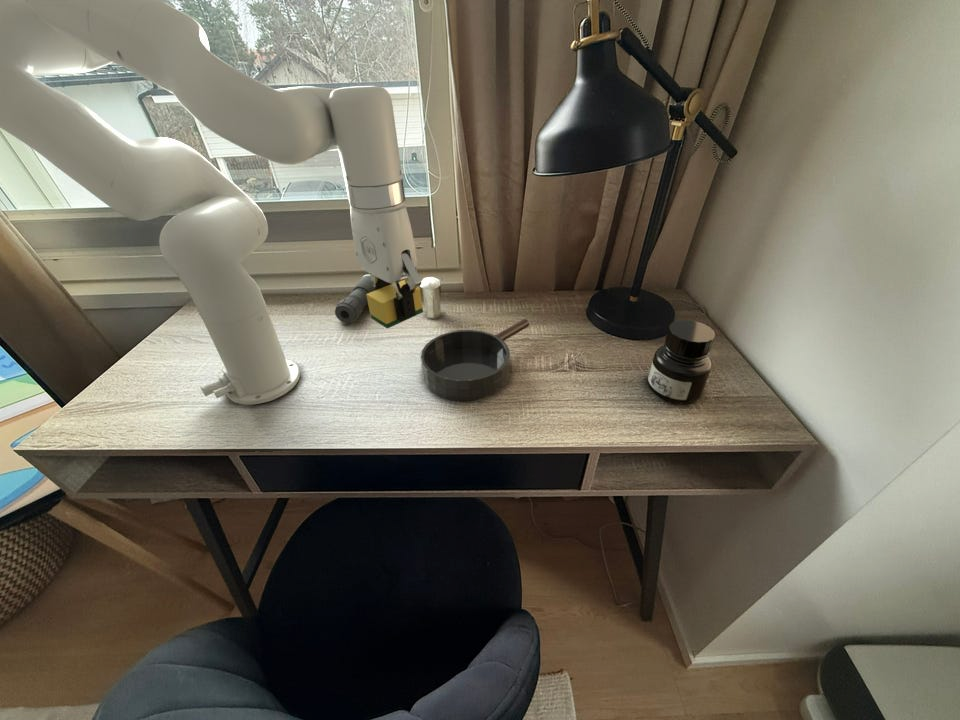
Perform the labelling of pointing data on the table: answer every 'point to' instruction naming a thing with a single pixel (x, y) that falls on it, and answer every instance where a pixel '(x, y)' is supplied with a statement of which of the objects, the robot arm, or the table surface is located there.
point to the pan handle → (513, 329)
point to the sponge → (389, 305)
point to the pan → (465, 365)
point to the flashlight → (354, 301)
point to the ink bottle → (682, 362)
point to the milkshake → (431, 296)
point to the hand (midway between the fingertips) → (396, 311)
